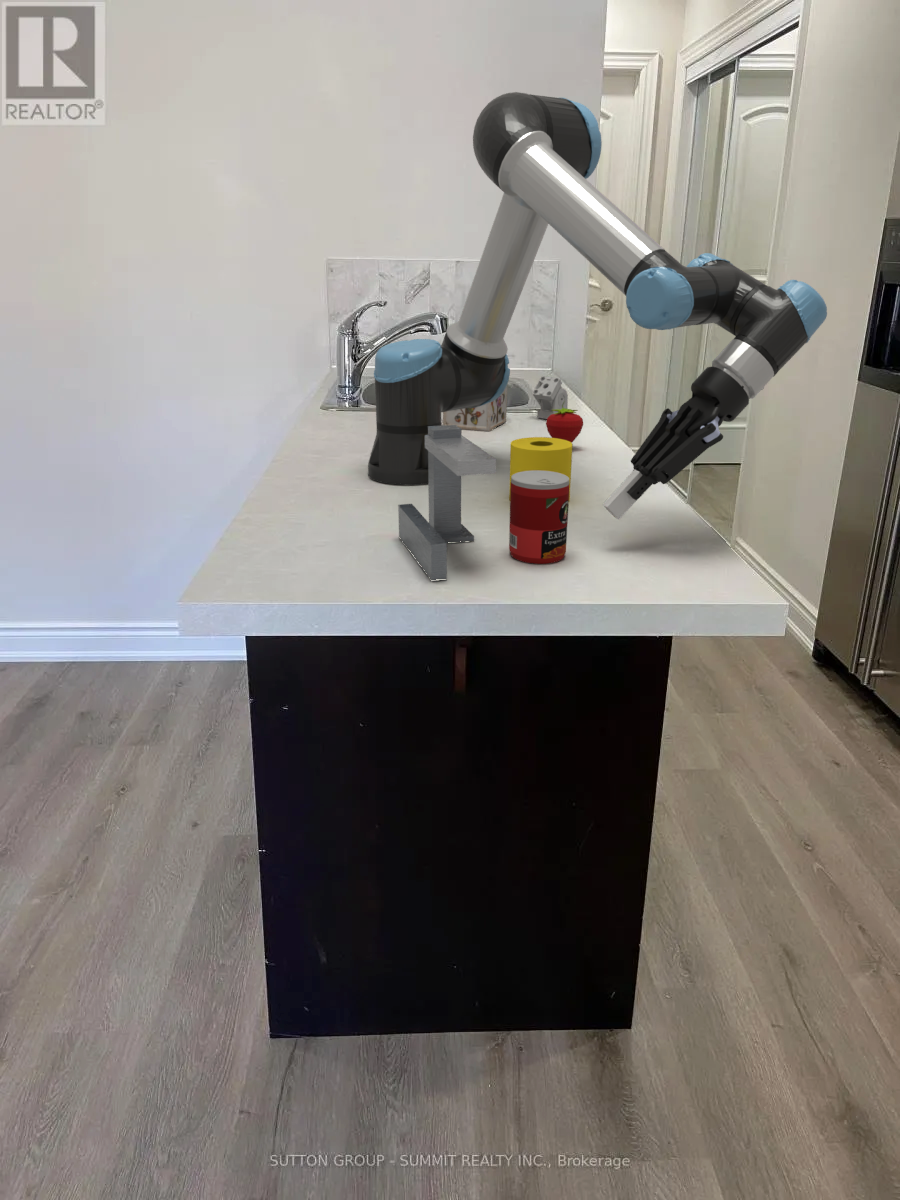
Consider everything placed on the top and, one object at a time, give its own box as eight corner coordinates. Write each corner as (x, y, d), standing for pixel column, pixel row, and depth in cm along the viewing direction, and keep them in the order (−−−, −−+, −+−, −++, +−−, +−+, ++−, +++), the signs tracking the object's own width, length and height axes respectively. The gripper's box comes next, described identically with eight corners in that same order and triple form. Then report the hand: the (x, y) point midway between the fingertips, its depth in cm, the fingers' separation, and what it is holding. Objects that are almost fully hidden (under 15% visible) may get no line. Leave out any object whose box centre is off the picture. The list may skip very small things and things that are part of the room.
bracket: (462, 529, 135) (462, 422, 129) (506, 574, 117) (509, 452, 111) (396, 534, 133) (394, 425, 127) (431, 581, 115) (430, 457, 109)
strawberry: (582, 453, 182) (585, 403, 178) (544, 452, 182) (546, 402, 179) (581, 447, 187) (584, 398, 183) (544, 446, 188) (546, 397, 184)
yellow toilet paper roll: (563, 510, 145) (566, 452, 141) (502, 505, 147) (504, 448, 144) (574, 494, 153) (577, 439, 150) (516, 489, 156) (518, 435, 153)
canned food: (551, 568, 119) (554, 487, 115) (498, 558, 123) (499, 479, 119) (575, 552, 125) (579, 475, 121) (524, 542, 129) (526, 467, 125)
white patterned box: (441, 428, 205) (441, 346, 199) (460, 419, 215) (461, 340, 208) (490, 432, 201) (492, 348, 194) (508, 422, 211) (510, 343, 204)
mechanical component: (567, 418, 216) (569, 375, 212) (548, 423, 211) (550, 379, 207) (549, 415, 219) (551, 373, 215) (530, 420, 214) (531, 377, 210)
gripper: (773, 409, 119) (648, 542, 120) (719, 394, 130) (606, 516, 132) (742, 370, 115) (614, 507, 117) (689, 358, 127) (574, 483, 129)
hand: (610, 511), depth 125 cm, fingers closed
